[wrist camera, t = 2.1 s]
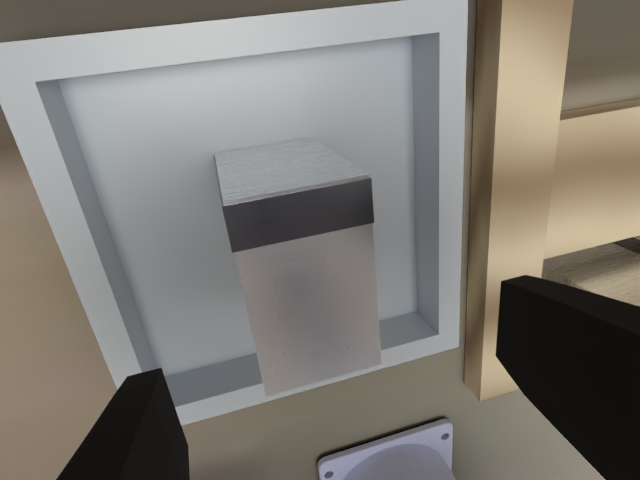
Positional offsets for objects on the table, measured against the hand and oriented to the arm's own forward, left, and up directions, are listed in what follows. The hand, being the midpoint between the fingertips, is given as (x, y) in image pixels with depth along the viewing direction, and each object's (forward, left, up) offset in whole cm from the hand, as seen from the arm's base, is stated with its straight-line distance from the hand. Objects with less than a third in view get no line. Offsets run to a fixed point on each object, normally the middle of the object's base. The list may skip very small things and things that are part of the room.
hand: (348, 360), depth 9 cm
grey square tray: (0, 0, -9) cm, 9 cm away
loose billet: (0, 0, -9) cm, 9 cm away
